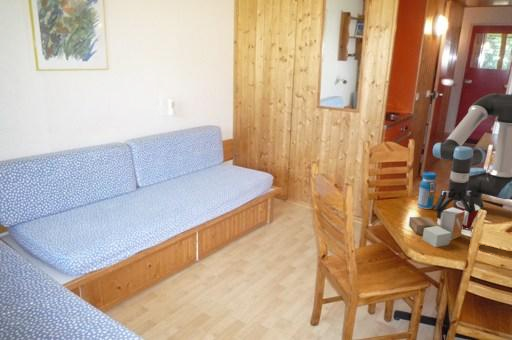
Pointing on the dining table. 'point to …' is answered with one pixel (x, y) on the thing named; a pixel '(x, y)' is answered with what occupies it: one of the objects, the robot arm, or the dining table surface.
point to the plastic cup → (472, 215)
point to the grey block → (436, 236)
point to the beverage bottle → (427, 191)
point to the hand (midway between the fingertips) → (451, 224)
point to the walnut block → (421, 224)
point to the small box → (453, 221)
